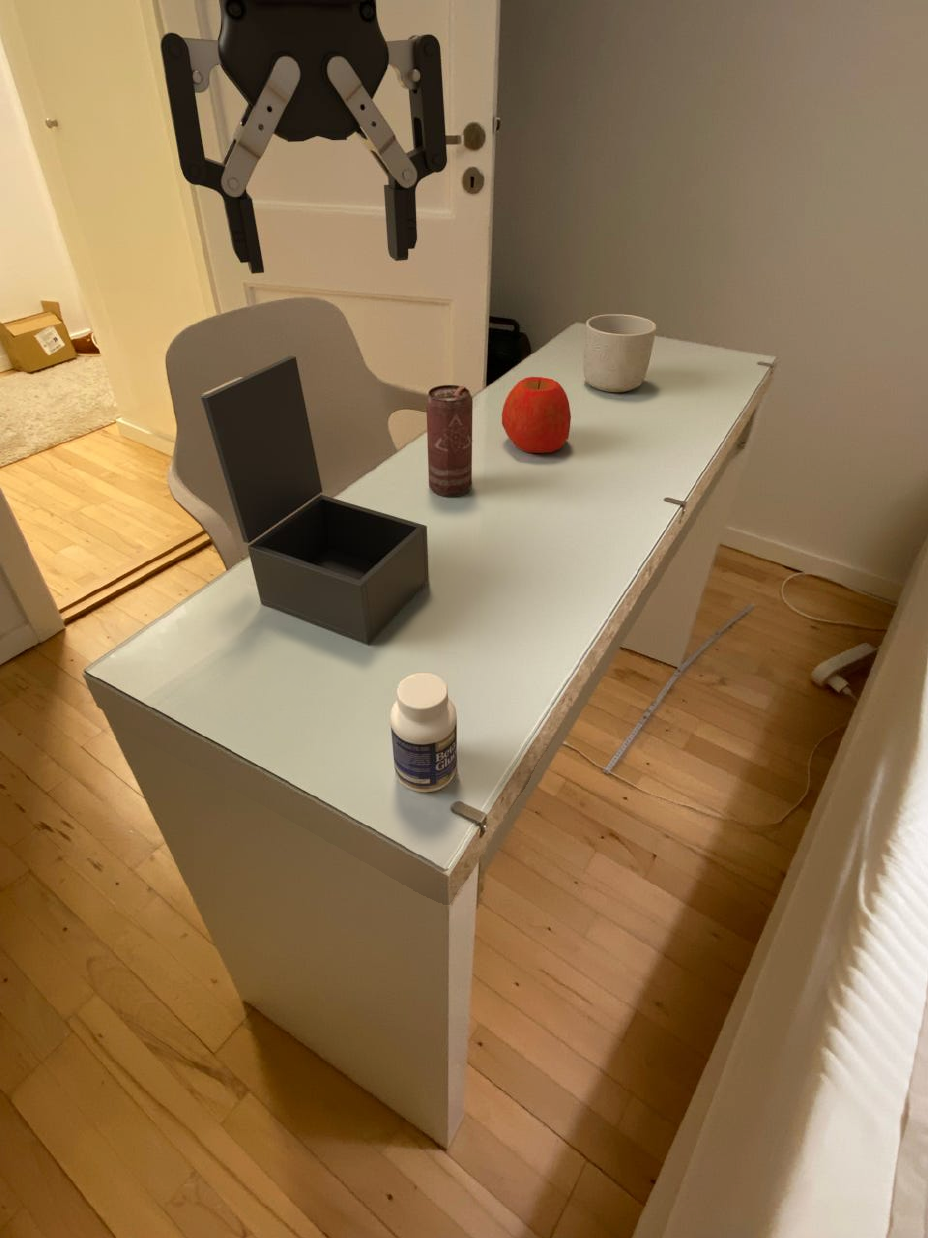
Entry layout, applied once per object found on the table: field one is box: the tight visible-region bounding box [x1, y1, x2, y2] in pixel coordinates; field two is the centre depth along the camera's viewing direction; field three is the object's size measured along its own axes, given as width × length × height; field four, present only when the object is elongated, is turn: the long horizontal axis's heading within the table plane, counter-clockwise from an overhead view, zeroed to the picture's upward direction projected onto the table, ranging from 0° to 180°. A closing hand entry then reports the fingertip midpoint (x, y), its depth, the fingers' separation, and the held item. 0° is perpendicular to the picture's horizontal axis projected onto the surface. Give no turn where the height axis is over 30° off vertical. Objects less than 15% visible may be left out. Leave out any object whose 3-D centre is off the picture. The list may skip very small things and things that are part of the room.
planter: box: [582, 313, 657, 393], centre depth 125 cm, size 12×12×11 cm
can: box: [425, 384, 474, 498], centre depth 93 cm, size 6×6×14 cm
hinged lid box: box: [247, 494, 430, 646], centre depth 76 cm, size 15×13×8 cm
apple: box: [501, 376, 572, 454], centre depth 105 cm, size 11×11×11 cm
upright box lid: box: [200, 355, 324, 544], centre depth 72 cm, size 16×13×5 cm
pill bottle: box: [389, 672, 458, 793], centre depth 56 cm, size 5×5×10 cm
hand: (328, 264), depth 41 cm, fingers open, 8 cm apart
